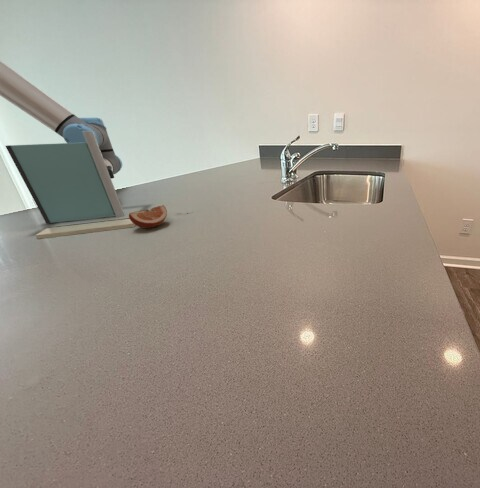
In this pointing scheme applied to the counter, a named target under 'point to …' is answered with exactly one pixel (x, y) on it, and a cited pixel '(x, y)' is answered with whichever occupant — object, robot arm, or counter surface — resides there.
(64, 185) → the shower door
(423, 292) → the counter surface
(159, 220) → the fruit slice
